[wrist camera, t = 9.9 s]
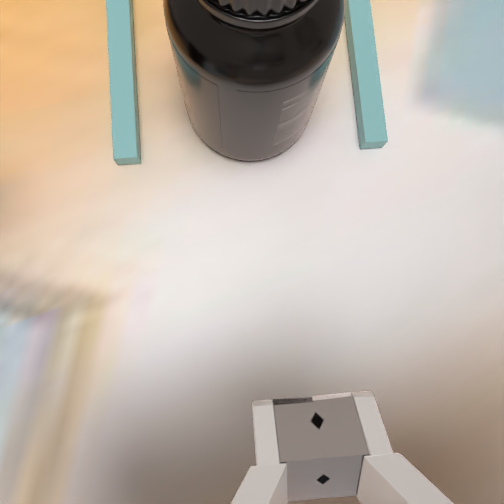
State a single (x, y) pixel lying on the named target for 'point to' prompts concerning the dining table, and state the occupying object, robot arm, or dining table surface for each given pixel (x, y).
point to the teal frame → (126, 85)
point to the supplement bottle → (252, 68)
